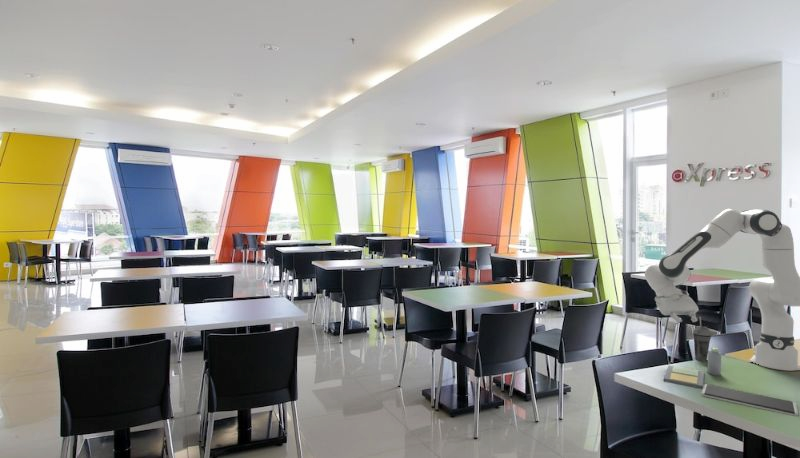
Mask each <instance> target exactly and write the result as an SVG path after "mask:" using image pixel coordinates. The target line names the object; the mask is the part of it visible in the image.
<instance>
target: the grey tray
mask: <svg viewBox="0 0 800 458" xmlns="http://www.w3.org/2000/svg"><path fill="white" fill-rule="evenodd" d="M700 394H701V395H700V396H702V397H705V398H710V399H715V400H719V401H725V402H728V403H732V404H736V405H737V404H738V405H743V406H747V407H752V408H758V409H761V410H766V411H771V412H776V413H781V414H784V415H791V416H795V417H799V410H798V406H797V403H796V402H795V401H792V400H788V399H787V400H786V399H782V398H776V397H772V396H767V395H763V394H758V393H754V392H747V391H743V390H739V389H738V390H737V389H732V388H728V387H723V386H718V385H714V384H708V383H705V384H704V383H703V388H702V390H701V393H700Z"/></svg>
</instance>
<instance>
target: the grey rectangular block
mask: <svg viewBox="0 0 800 458" xmlns="http://www.w3.org/2000/svg"><path fill="white" fill-rule="evenodd" d="M721 372H722V352H720V350H719V348H718V347H711V349H710V350H708V356H707V374H708V375H711V374H712V375H711V376H721V374H722V373H721Z"/></svg>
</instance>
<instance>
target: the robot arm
mask: <svg viewBox="0 0 800 458" xmlns="http://www.w3.org/2000/svg"><path fill="white" fill-rule="evenodd" d="M738 232H741V233H744V234H751V235H758V236H759V237H760V239H761V244H762V245H761V249H762V252H761V253H762V266H763V267H764V268H765V269H766V270H767V271H768V272H769V273H770V274H771V276H772V278H771V277H760V278H759V277H757V278H754V279H752V280H751V281H750V283H749V285H748V292H749V294H750V296H751V297H752V298H753V299H754V300H755V302H756V304H757V306H758V308H759V310H760V315H761V332H760V334H759V342H757V343H756V344H755V345H754V346H753V352H754V353H753V355H752V357H750V359H749V361H750V362H749V361H748V362H749V363H751V362H753V363H752V364H755V363H756V365H758V364H759V365H758V366H760V367H764V368H769V369H773V370H779V371H791V372H792V371H800V365H799V350H798V349H796V347H795V346H794V345H795V337H794V325H795V324H794V323H795V322H794V318H793V317H792V316H791V315H790V314H789V313H788V312H787V310H786V309H785V306H788V307H800V275H799V273H798V271H797V268H796V264H795V263H796V261H795V246H794V244H795V243H794V237H793V234H792V233H793V232H792V229H791V228H790V227H789V225H787V224H784V223H781V221H780V218H779V216H778V215H777V214H776V213H775V212H773V211H770V210H768V209H755V208H754V209H751V210H750V209H749V210H743V211H740V212H739V211H737V210H736V209H734V208H733V209H732V208H727V209H725V210H723V211H721V212H720V213H718V214H717V215H716V216H715V217H714V218H712V219H711V220H710V221H709V222H708V223H707V224H706V225H705V226H704V227H703V228H702V229H701V230H699V231H698V232H696V233H694V235H692V236H691V237H690V238H689V239H688V240H687V241H685V242H684V243H683V244H682V245H681V246H679V247H678V248H677V249H676V250H675V251H673V252H671V253H669V254H667V255H665V256H663V257H662V258H661V259H660V260H659V263H658V264H652V265H650V266H648V268H646V269H645V272H644V277H645V280H646V282H647V283H648V285H649V286H650V288H651V289H652V290H653V291H654V292H655V295H656V296H655V297H654V301H655V302H656V303H655V304H656V307H657V308H658V310H659V312H660V314H661V315H663V316H670V317H671V318H672V319H673V320H675V321H676V323H677V324H680V323H682V322H683V319H682V318H681V317H679V316H680V315H683V316H684V315H688V316H690V320H691V321H692V323H696V322H698V321H699V320H698V318H697V317H696V315H697V312H699V306H698V305H697V303H696V302H695V301H694V300H693V298H692V297H690V294H689V293H688V291H687V290H682V289H679V288H678V287H677V286H679V285H683V284H685V283H687V282H688V281H689V280H690V278H691V274H692V273H691V271H690V269H689V267H688V265H687V263H688V261H689V260H690V259H691V258H692V257H694V256H695V255H696V254H697V253H698V252H700V251H701V250H703V249H707V248H709V249H720V248H721V247H722V246H724V245H726V244H727V243H728V242H729V241H730V240H731V239H732V238H733V237H734V236H735V235H736V234H737V233H738ZM678 315H679V316H678Z"/></svg>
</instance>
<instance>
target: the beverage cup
mask: <svg viewBox="0 0 800 458" xmlns="http://www.w3.org/2000/svg"><path fill="white" fill-rule="evenodd" d="M692 334H693V335H692V337H693V344H694V345H693V346H694V359H696V360H698V361H701V360H707V361H708V351H709V348H710V341H711V338H712V333H711V330H710V329H709V327H708V326H705V325H702V317H701V315H699V325H697V326H695V328H694V329H693V332H692Z"/></svg>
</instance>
